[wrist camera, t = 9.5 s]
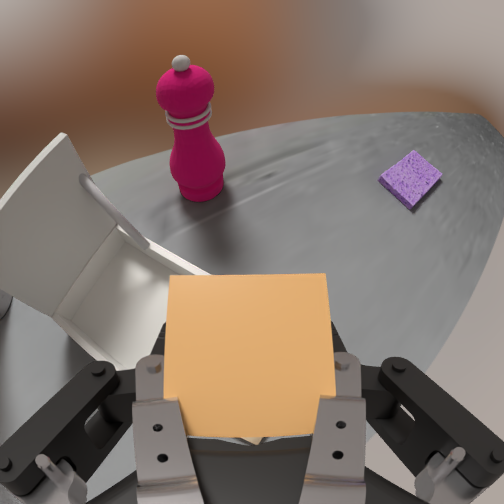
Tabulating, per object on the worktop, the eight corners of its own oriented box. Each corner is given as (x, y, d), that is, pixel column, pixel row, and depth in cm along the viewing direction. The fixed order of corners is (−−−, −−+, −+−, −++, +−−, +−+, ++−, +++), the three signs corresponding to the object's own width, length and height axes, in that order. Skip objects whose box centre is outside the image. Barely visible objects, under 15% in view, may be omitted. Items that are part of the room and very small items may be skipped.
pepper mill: (231, 169, 41) (226, 42, 23) (220, 208, 38) (205, 72, 20) (185, 164, 42) (160, 44, 24) (169, 202, 38) (129, 75, 20)
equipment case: (65, 321, 30) (-39, 258, 14) (124, 236, 36) (60, 132, 19) (166, 402, 27) (71, 411, 10) (230, 297, 32) (214, 196, 16)
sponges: (376, 182, 42) (380, 174, 40) (410, 154, 45) (414, 148, 44) (408, 212, 39) (413, 205, 38) (438, 180, 43) (443, 173, 41)
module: (208, 410, 14) (163, 433, 6) (208, 333, 16) (169, 275, 8) (289, 408, 14) (336, 430, 6) (286, 333, 16) (325, 273, 8)
